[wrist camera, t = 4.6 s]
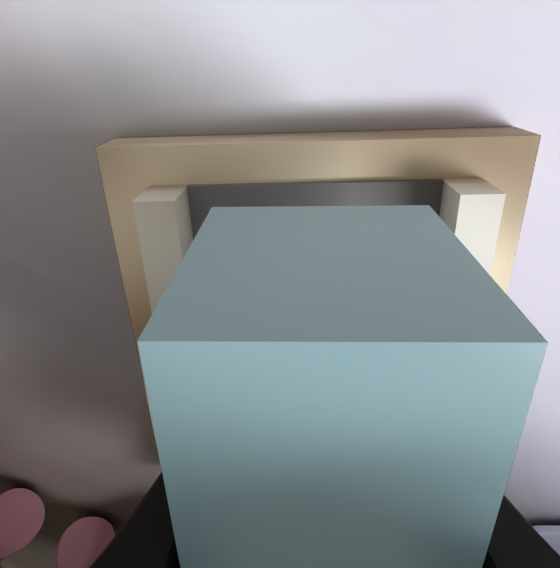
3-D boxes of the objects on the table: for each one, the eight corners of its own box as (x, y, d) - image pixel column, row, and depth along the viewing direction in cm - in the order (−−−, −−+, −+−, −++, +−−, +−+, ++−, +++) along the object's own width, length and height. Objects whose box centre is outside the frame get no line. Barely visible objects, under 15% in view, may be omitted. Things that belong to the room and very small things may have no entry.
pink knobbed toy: (-26, 438, 21) (-159, 625, 16) (-35, 410, 17) (-206, 639, 13) (173, 518, 23) (102, 704, 18) (202, 508, 19) (123, 735, 15)
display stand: (450, 469, 18) (476, 540, 16) (176, 467, 19) (156, 537, 16) (514, 127, 12) (575, 146, 10) (116, 137, 13) (69, 159, 10)
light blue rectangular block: (384, 545, 14) (423, 767, 10) (241, 542, 15) (216, 758, 10) (429, 205, 9) (547, 342, 5) (211, 207, 10) (136, 342, 5)
